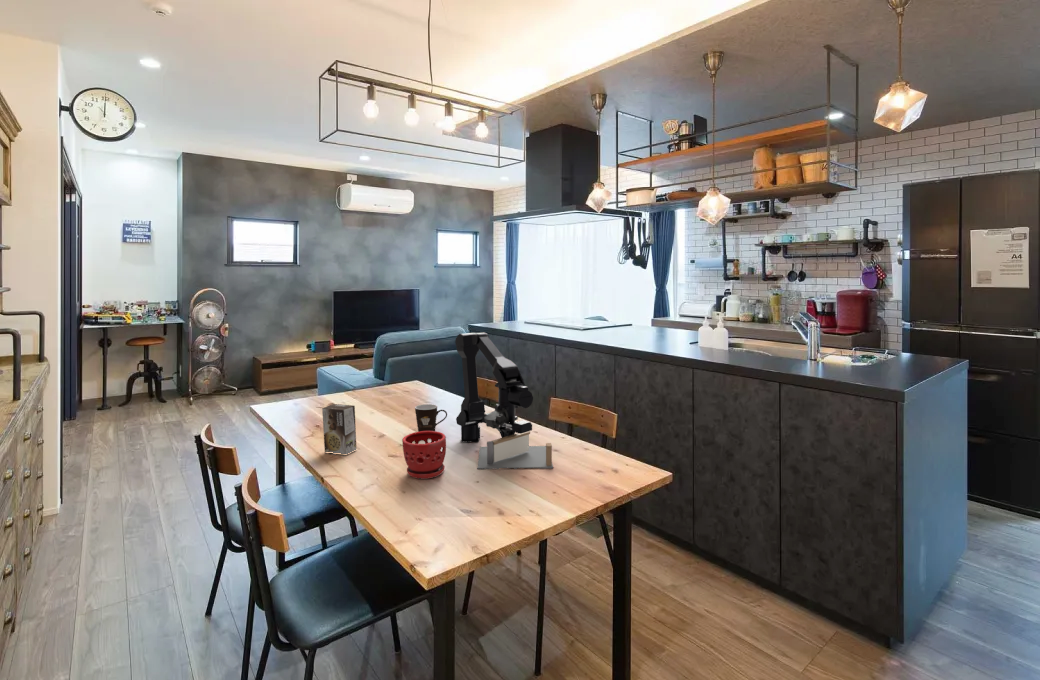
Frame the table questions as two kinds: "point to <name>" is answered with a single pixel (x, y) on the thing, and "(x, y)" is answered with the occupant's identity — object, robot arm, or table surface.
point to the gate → (507, 447)
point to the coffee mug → (427, 417)
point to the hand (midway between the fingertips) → (506, 446)
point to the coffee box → (339, 428)
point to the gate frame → (520, 459)
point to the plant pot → (424, 454)
